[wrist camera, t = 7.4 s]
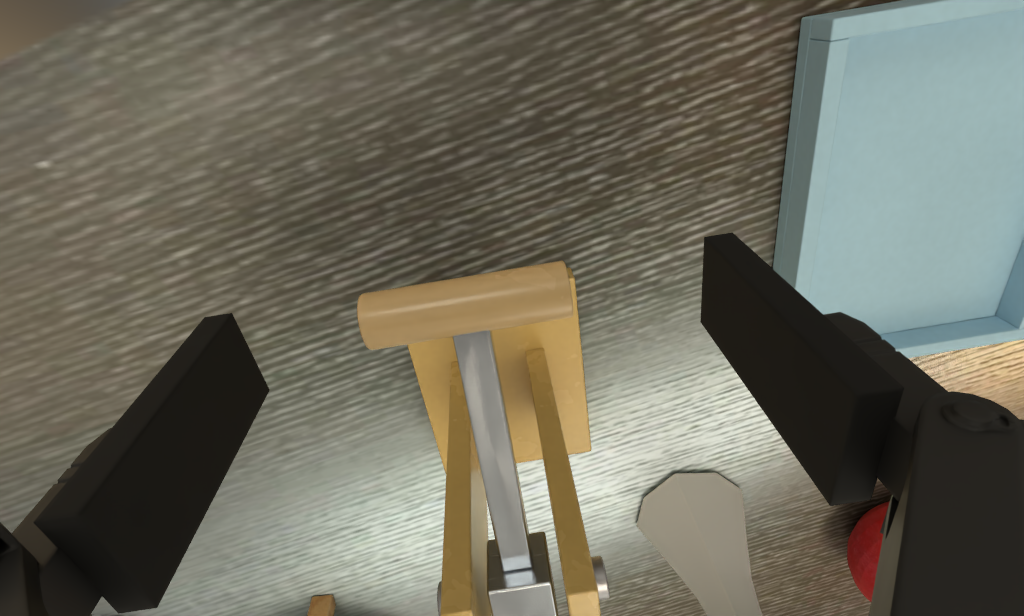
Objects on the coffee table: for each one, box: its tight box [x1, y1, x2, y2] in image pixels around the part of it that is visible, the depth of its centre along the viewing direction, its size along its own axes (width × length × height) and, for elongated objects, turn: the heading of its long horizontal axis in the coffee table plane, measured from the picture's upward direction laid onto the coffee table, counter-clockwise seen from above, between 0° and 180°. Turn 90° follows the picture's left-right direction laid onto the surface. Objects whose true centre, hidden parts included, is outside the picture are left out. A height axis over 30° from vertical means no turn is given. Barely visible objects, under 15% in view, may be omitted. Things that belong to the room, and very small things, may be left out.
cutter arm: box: [357, 261, 573, 616], centre depth 17 cm, size 13×6×2 cm, turn 8°
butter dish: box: [773, 0, 1024, 358], centre depth 26 cm, size 18×14×2 cm
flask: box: [637, 473, 763, 616], centre depth 33 cm, size 7×7×10 cm
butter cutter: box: [407, 268, 610, 616], centre depth 24 cm, size 12×9×15 cm
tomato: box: [847, 501, 890, 602], centre depth 36 cm, size 9×9×8 cm
